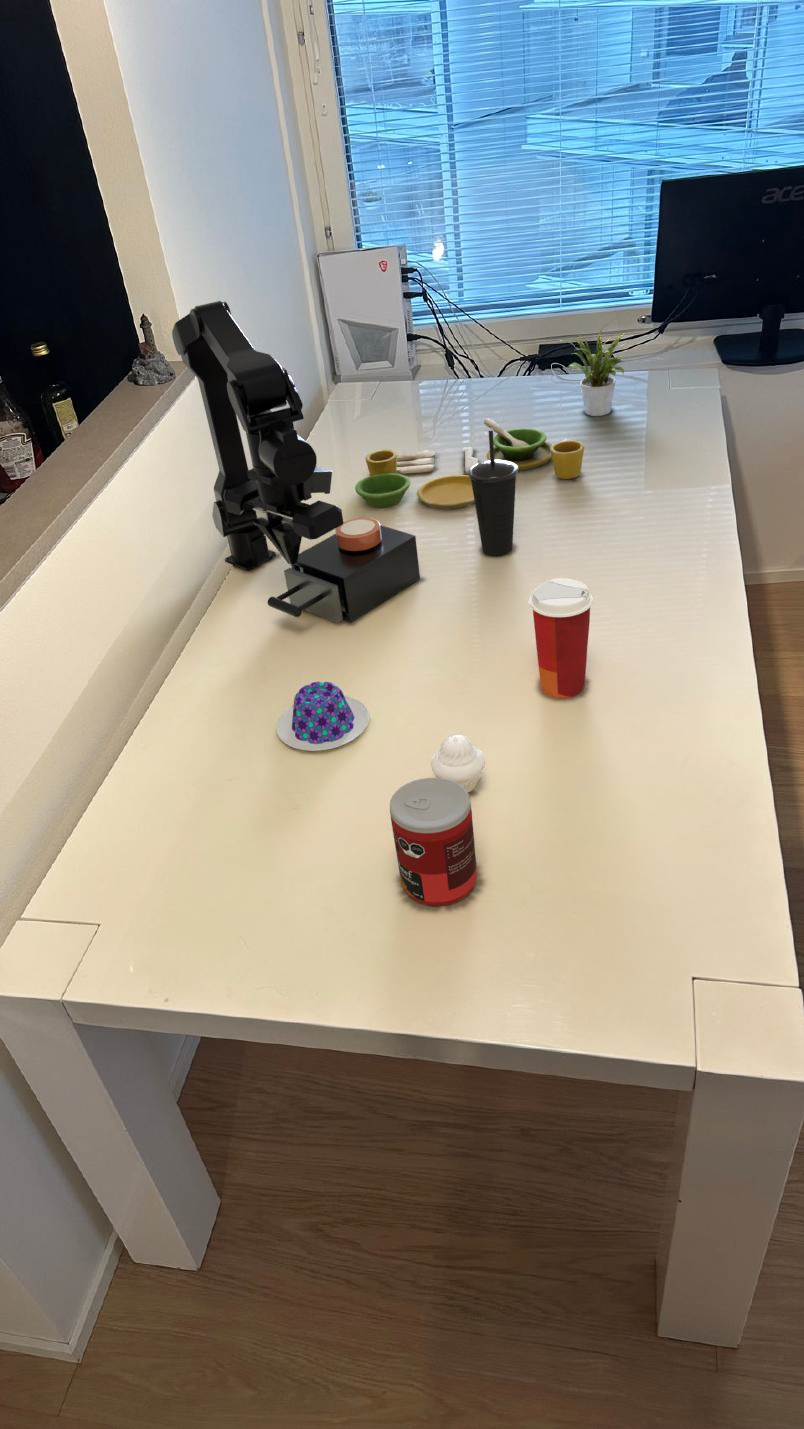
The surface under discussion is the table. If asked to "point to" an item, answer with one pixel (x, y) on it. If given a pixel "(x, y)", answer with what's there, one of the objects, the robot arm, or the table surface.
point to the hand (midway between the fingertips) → (292, 563)
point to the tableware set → (457, 489)
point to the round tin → (358, 534)
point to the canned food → (434, 840)
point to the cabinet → (366, 569)
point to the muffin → (458, 762)
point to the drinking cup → (494, 502)
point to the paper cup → (561, 635)
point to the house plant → (598, 377)
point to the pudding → (322, 718)
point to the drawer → (310, 595)
